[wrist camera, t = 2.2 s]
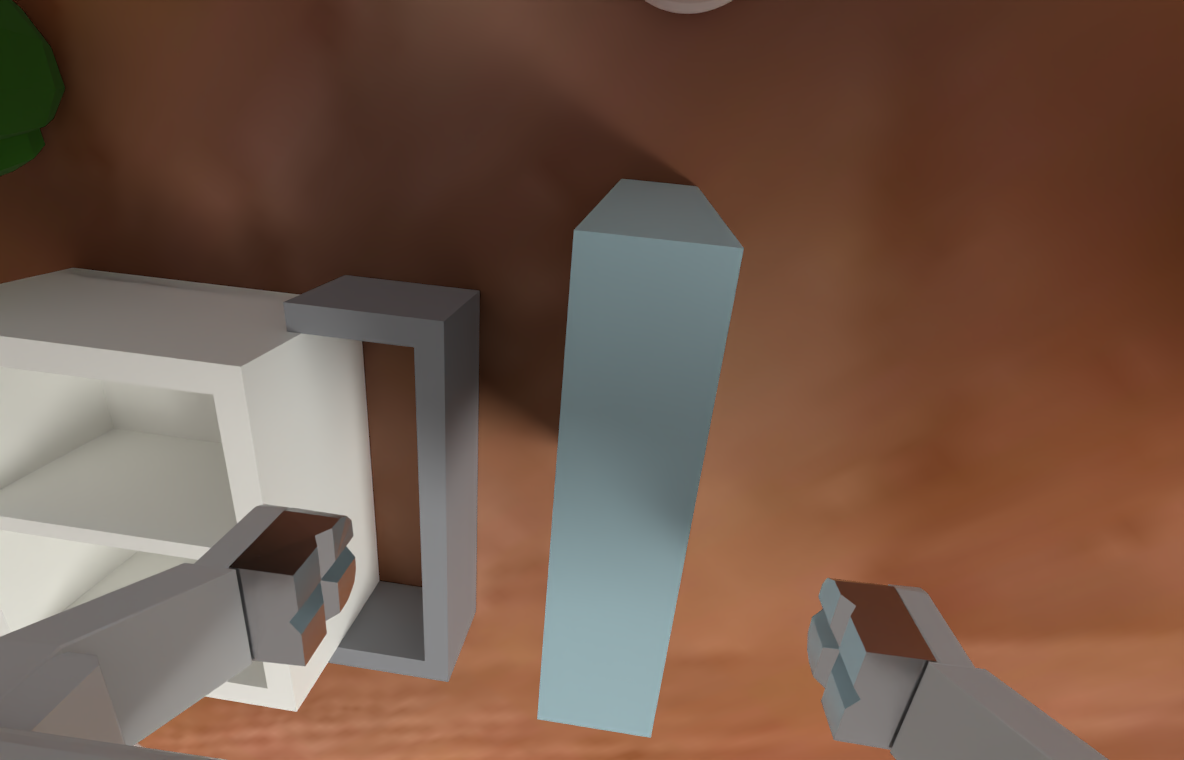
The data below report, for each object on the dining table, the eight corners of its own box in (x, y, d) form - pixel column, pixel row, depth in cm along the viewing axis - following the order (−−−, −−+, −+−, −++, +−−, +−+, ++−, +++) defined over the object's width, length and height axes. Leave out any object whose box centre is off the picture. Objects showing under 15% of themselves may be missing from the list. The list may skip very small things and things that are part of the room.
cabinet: (479, 290, 22) (405, 354, 16) (475, 611, 28) (421, 750, 22) (66, 242, 23) (-163, 283, 17) (151, 561, 29) (9, 680, 23)
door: (697, 186, 20) (744, 248, 9) (655, 463, 24) (650, 737, 13) (621, 178, 20) (573, 230, 9) (593, 455, 24) (537, 718, 13)
